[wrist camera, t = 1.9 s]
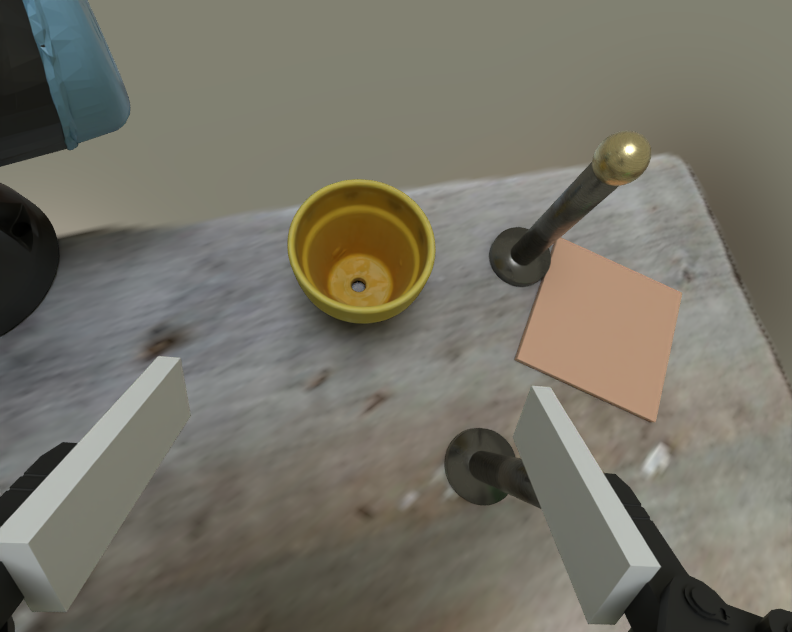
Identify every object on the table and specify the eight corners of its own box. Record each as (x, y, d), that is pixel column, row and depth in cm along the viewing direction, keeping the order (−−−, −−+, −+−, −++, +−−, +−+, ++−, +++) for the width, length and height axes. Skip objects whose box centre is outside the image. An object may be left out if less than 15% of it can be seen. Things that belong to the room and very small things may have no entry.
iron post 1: (481, 271, 37) (580, 157, 21) (500, 223, 39) (605, 84, 23) (536, 296, 37) (676, 201, 21) (552, 246, 39) (694, 125, 23)
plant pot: (321, 357, 33) (310, 332, 24) (290, 254, 36) (269, 194, 26) (429, 324, 35) (457, 288, 26) (393, 228, 38) (408, 164, 28)
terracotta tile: (514, 359, 35) (517, 358, 35) (555, 239, 39) (558, 236, 39) (650, 422, 35) (655, 422, 35) (677, 294, 39) (682, 293, 39)
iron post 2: (434, 484, 32) (522, 549, 16) (459, 417, 33) (561, 412, 17) (499, 514, 32) (654, 611, 15) (521, 445, 33) (680, 467, 17)
